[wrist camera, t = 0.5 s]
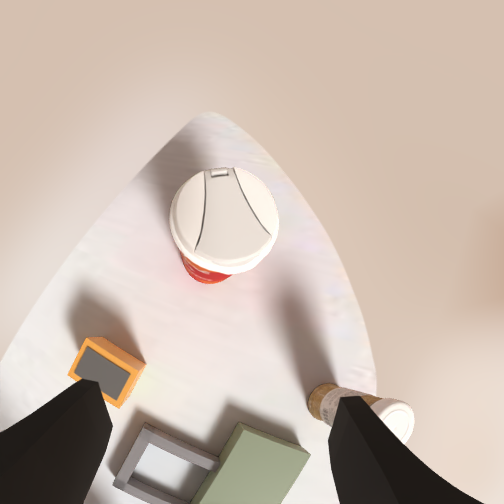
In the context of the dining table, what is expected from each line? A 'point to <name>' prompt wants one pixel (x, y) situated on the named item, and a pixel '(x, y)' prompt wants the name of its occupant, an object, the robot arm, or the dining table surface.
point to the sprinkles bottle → (388, 410)
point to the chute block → (107, 369)
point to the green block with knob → (223, 468)
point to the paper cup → (223, 223)
